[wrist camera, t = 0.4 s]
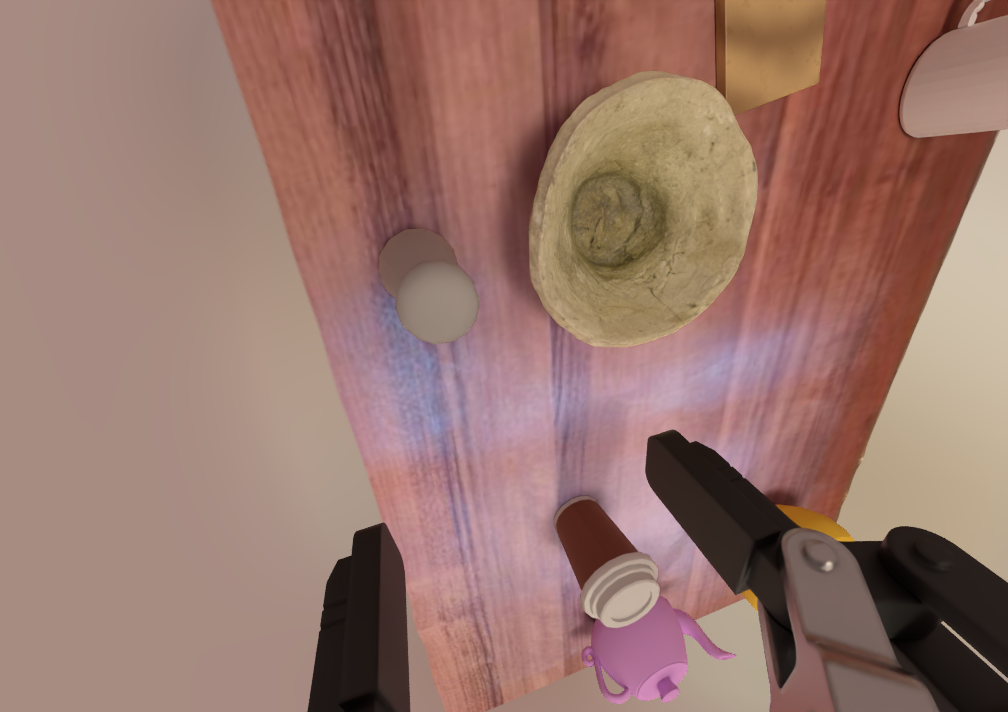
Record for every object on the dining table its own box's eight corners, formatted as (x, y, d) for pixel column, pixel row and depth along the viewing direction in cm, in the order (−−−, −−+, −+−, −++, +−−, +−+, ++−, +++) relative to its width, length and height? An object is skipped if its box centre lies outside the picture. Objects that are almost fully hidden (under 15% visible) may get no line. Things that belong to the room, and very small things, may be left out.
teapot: (674, 552, 59) (741, 634, 48) (675, 599, 65) (735, 680, 55) (562, 608, 56) (607, 710, 45) (576, 652, 62) (618, 750, 51)
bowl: (589, 290, 40) (525, 362, 30) (579, 90, 30) (481, 103, 21) (738, 300, 33) (716, 400, 23) (786, 42, 23) (783, 28, 14)
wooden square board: (714, -31, 27) (725, -39, 26) (820, -65, 29) (834, -73, 28) (716, 120, 32) (726, 118, 31) (807, 86, 33) (819, 83, 33)
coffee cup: (588, 542, 51) (642, 633, 40) (532, 539, 47) (577, 639, 37) (618, 490, 48) (684, 573, 38) (562, 483, 45) (618, 573, 34)
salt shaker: (385, 302, 30) (388, 371, 18) (372, 228, 27) (367, 255, 16) (456, 294, 31) (499, 353, 20) (449, 223, 29) (495, 244, 18)
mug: (942, 135, 41) (1082, 122, 33) (885, 140, 39) (1019, 127, 30) (996, -8, 36) (1179, -66, 27) (934, -11, 33) (1112, -76, 25)
